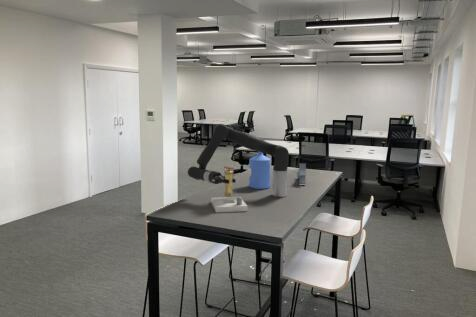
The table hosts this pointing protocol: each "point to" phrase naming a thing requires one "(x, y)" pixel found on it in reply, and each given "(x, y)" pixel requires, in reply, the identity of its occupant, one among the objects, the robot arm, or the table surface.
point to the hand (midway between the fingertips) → (231, 181)
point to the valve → (229, 177)
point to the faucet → (302, 173)
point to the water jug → (259, 172)
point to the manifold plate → (229, 204)
